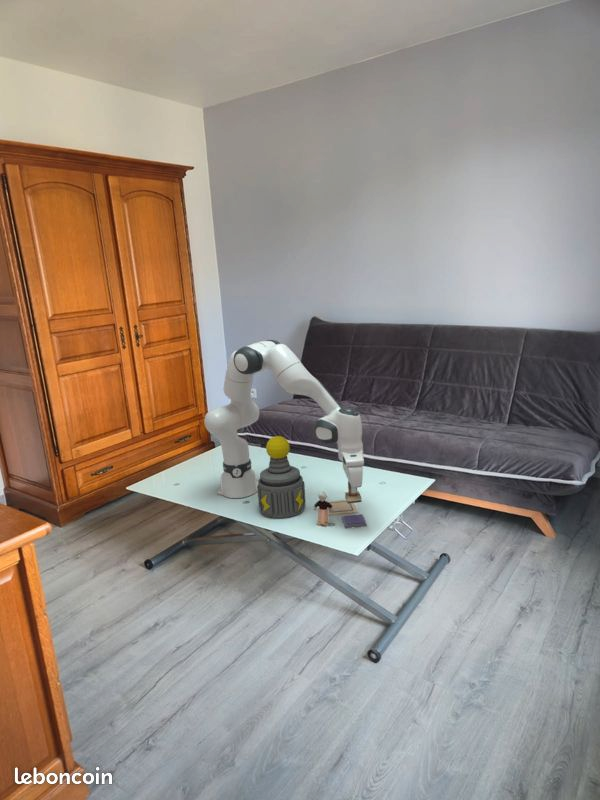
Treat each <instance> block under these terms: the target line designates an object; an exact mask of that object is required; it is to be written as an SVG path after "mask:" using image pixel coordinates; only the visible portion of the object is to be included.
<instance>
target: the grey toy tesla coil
mask: <svg viewBox="0 0 600 800" xmlns="http://www.w3.org/2000/svg"><path fill="white" fill-rule="evenodd" d="M265 448H266V449H265V450H266V453H267V456H269V463H268V467H267V468H265V469H263V470H261V472H260V474H259V477H260V478H259V479H257V481H258V486H257V490H258V492H257V500H258V507H259V510H260V513H262V515H264V516H266V517H268V518H271V519H287V518H292V517H296V516H297V514H298V515H299V514H300V513H302V512H303V511H304V509H305V507H306V490H305V481H304V479H303V476H302V475H301V472H300V471H301V470H300V469H299V468H298V467H296V466H294V465H293V466H292V465H291V464H290V462H289V458H288V455H289V453H290V449H291V448H290V443H289V441H288V440H287V439H286V438H285V437H284V436H281V435H276V436H275V435H274V436H273V437H271V438H269V440H268V441H267V443H266V444H265Z"/></svg>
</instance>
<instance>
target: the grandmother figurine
mask: <svg viewBox="0 0 600 800" xmlns="http://www.w3.org/2000/svg"><path fill="white" fill-rule="evenodd" d="M317 495H318V501H316V503H314V507H313V511H316V510H317V512H318V514H317V515H318V517H317V522H316V525H317V526H322V525H323V526H324V527H328V526H329V525H330V523H329V515H328V509H327V507H328V508H330V509H331V511H332V512H333V511H334V509H333V507H332V505H331V504H330V503H329V502H327V501H326V499H328V494H327V493H326V492H324V491H320V492H318V494H317ZM317 508H318V509H317Z"/></svg>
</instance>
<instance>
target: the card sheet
mask: <svg viewBox="0 0 600 800" xmlns="http://www.w3.org/2000/svg"><path fill="white" fill-rule="evenodd" d="M327 502H329V503H330V504H331V505H332V507H333V509H334V511H333V512H332V511H331V509H330V508H328V507H327V509H328V516H334V515H345V514H355V513H354V512H357V513H359V511H358V508H357V505H356V503H349V504H348V503H347V501H346V499H338V500H328V501H327Z"/></svg>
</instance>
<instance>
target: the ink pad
mask: <svg viewBox="0 0 600 800" xmlns="http://www.w3.org/2000/svg"><path fill="white" fill-rule="evenodd" d="M341 521H342V524H343V527H344V529H352V527H354V528H362V527H361V526H364V527H367V526H368V523H367V521H366V518H365V517H364V514H362V513H361V514H359V513H358V514H350V515H342V516H341Z"/></svg>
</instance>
